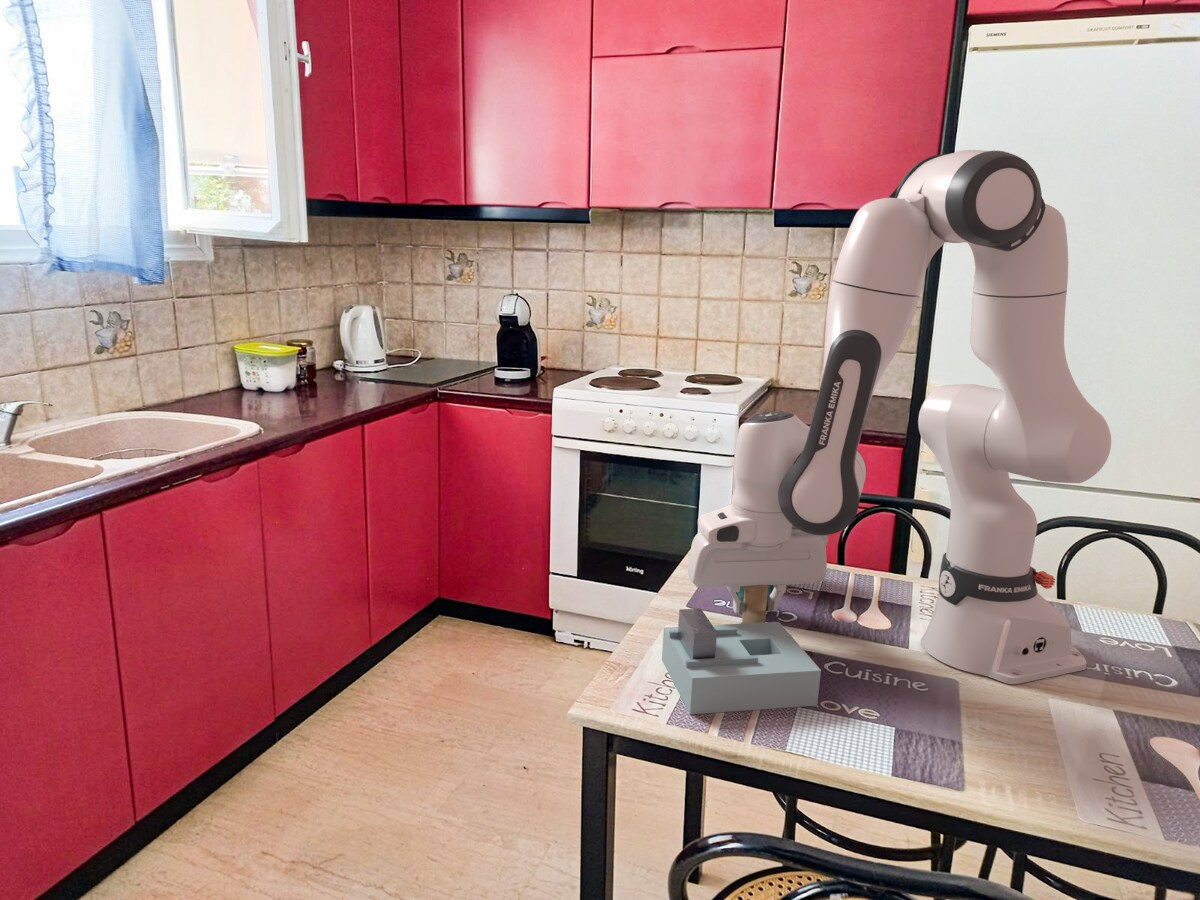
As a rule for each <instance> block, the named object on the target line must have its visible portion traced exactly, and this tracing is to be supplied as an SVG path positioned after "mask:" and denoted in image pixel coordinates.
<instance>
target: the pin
mask: <svg viewBox="0 0 1200 900" xmlns="http://www.w3.org/2000/svg"><path fill="white" fill-rule="evenodd" d="M767 594H768V585H755V586H745V587H744V600H745V601H746V607H745V609H746V612H743V613H742V617H741V618H742V619H741V624H745V623H765V622H766V620H767V619H766V618H767V617H766V616H767V611H766V607H767Z"/></svg>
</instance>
